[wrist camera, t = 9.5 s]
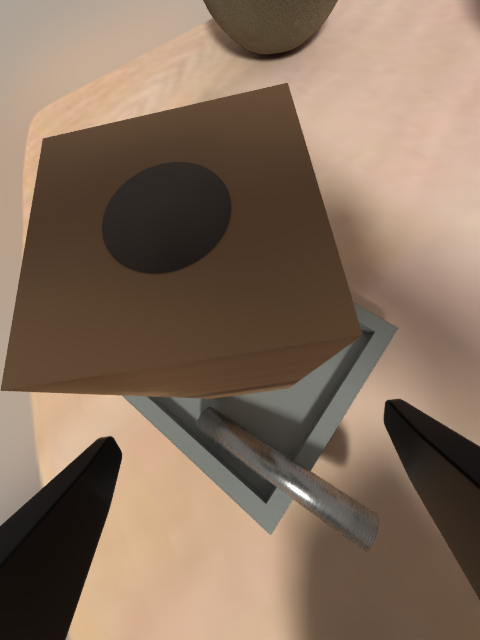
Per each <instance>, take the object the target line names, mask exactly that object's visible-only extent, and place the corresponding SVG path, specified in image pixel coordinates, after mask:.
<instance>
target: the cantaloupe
mask: <svg viewBox="0 0 480 640" xmlns="http://www.w3.org/2000/svg"><path fill="white" fill-rule="evenodd" d="M203 1H204V3H205V4H206V7H207V9H208V10H209V12H210V14H211V15H212V17H213V18H214V19H215V21H216V22H217V23H218V24H219V26H220V27H221V28H222V29H223V30H224V31H225V32H226V33H227V34H228V35H229V36H230V37H231V38H232V39H233V40H235V41H236V42H237V43H239V44H240V45H242V46H243V47H244V48H246V49H247V50H249V51H252V52H255V53H259V54H274V53H282V52H287V51H289V50H292V49H294V48H296V47H298V46H299V45H301V44H302V43H304V42H305V41H306V40H307V39H308V38H309V37H310V36H311V35H312V34H314V33H315V32H316V31H317V30H318V29H319V28H320V27H321V25H322V24H323V23H324V22H325V20H326V19H327V17H328V16H329V15H330V13H331V12H332V10H333V8H334V6H335V4H336V3H337V1H338V0H203Z"/></svg>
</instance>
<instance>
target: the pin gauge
mask: <svg viewBox="0 0 480 640" xmlns="http://www.w3.org/2000/svg"><path fill="white" fill-rule="evenodd" d="M195 429H196V430H197V431H198V432H200V433H201V434H203V435H204V436H205V437H207V438H208V439H210V440H211V441H212V442H214V443H215V444H217V445H218V446H219V447H221V448H222V449H224V450H225V451H226V452H228V453H229V454H231V455H232V456H233V457H235V458H236V459H237V460H239V461H240V462H242V463H243V464H244V465H246V466H247V467H249V468H250V469H251V470H253V471H254V472H256V473H257V474H258V475H260V476H261V477H263V478H264V479H265V480H267V481H268V482H270V483H271V484H272V485H274V486H275V487H277V488H278V489H279V490H281V491H282V492H284V493H285V494H286V495H288V496H289V497H291V498H292V499H293V500H295V501H296V502H298V503H299V504H300V505H302V506H303V507H304V508H306V509H307V510H309V511H310V512H311V513H313V514H314V515H316V516H317V517H318V518H320V519H321V520H323V521H324V522H325V523H327V524H328V525H330V526H331V527H332V528H334V529H335V530H337V531H338V532H339V533H341V534H342V535H344V536H345V537H346V538H348V539H349V540H351V541H352V542H353V543H355V544H356V545H358V546H359V547H360V548H362V549H363V550H365V551H368V550H369V549H370V548H371V546H372V544H373V542H374V539H375V536H376V533H377V528H378V515H377V514H376V513H374V512H373V511H371V510H370V509H368V508H366V507H365V506H363V505H362V504H360V503H359V502H357V501H356V500H354V499H353V498H351V497H350V496H348V495H346V494H345V493H343V492H342V491H340V490H339V489H337V488H336V487H334V486H333V485H331V484H330V483H328V482H326V481H325V480H323V479H322V478H320V477H319V476H317V475H316V474H314V473H313V472H311V471H309V470H308V469H306V468H305V467H303V466H302V465H300V464H299V463H297V462H296V461H294V460H293V459H291V458H289V457H288V456H286V455H285V454H283V453H282V452H280V451H279V450H277V449H276V448H274V447H273V446H271V445H269V444H268V443H266V442H265V441H263V440H262V439H260V438H259V437H257V436H256V435H254V434H252V433H251V432H249V431H248V430H246V429H245V428H243V427H242V426H240V425H239V424H237V423H236V422H234V421H232V420H231V419H229V418H228V417H226V416H225V415H223V414H222V413H220V412H219V411H217V410H216V409H214V408H212V407H211V406H209V407H207V408H206V409H205V410H204V411H203V412H202V414H201V415H200V417H199V418H198V420H197V423H196V426H195Z"/></svg>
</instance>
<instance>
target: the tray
mask: <svg viewBox="0 0 480 640" xmlns="http://www.w3.org/2000/svg"><path fill="white" fill-rule="evenodd" d="M353 304H354V308H355V311H356V314H357V318H358V321H359V324H360V328H361V331H362V334H363V335H362V336H361V337H360V338H358V339H357V340H355V341H354V342H353V343H351V344H350V345H348V346H347V347H346V348H344V349H343V350H342V351H340V352H339V353H337V354H336V355H335V356H333V357H332V358H330V359H329V360H328V361H326V362H325V363H324V364H322V365H321V366H319V367H318V368H317V369H315V370H314V371H312V372H311V373H310V374H308V375H307V376H306V377H304V378H303V379H301V380H300V381H299V382H297V383H296V384H294V385H293V386H292V387H290V388H288V389H281V390H274V391H267V392H260V393H253V394H246V395H239V396H232V397H224V398H217V399H203V398H177V397H151V396H125V395H122V396H123V397H124V398H125V399H126V400H127V401H128V402H129V403H130V404H131V405H133V406H134V407H135V408H136V409H137V410H138V411H139V412H140V413H141V414H142V415H143V416H144V417H145V418H146V419H147V420H149V421H150V422H151V423H152V424H153V425H154V426H155V427H156V428H157V429H158V430H159V431H160V432H161V433H162V434H163V435H164V436H166V437H167V438H168V439H169V440H170V441H171V442H172V443H173V444H174V445H175V446H176V447H177V448H178V449H179V450H180V451H182V452H183V453H184V454H185V455H186V456H187V457H188V458H189V459H190V460H191V461H192V462H193V463H194V464H195V465H196V466H197V467H199V468H200V469H201V470H202V471H203V472H204V473H205V474H206V475H207V476H208V477H209V478H210V479H211V480H212V481H213V482H215V483H216V484H217V485H218V486H219V487H220V488H221V489H222V490H223V491H224V492H225V493H226V494H227V495H228V496H229V497H231V498H232V499H233V500H234V501H235V502H236V503H237V504H238V505H239V506H240V507H241V508H242V509H243V510H244V511H245V512H246V513H248V514H249V515H250V516H251V517H252V518H253V519H254V520H255V521H256V522H257V523H258V524H259V525H260V526H261V527H262V528H264V529H265V530H266V531H267V532H268V533H269V534H270V535H271V534H272V533H273V531H274V529H275V528H276V526H277V524H278V523H279V521H280V520H281V518H282V516H283V515H284V513H285V511H286V510H287V508H288V507H289V505H290V503H291V502H292V500H293V499H292V498H291V497H289V496H288V495H286V494H285V493H284V492H282V491H281V490H279V489H278V488H277V487H275V486H274V485H272V484H271V483H270V482H268V481H267V480H265V479H264V478H263V477H261V476H260V475H258V474H257V473H256V472H254V471H253V470H251V469H250V468H249V467H247V466H246V465H244V464H243V463H242V462H240V461H239V460H237V459H236V458H235V457H233V456H232V455H231V454H229V453H228V452H226V451H225V450H224V449H222V448H221V447H219V446H218V445H217V444H215V443H214V442H212V441H211V440H210V439H208V438H207V437H205V436H204V435H203V434H201V433H200V432H198V431H197V430H196V429H195V426H196V423H197V420H198V418H199V417H200V415H201V414H202V412H203V411H204V410H205V409H206V408H207V407H209V406H211V407H212V408H214V409H216V410H217V411H219V412H220V413H222V414H223V415H225V416H226V417H228V418H229V419H231V420H232V421H234V422H236V423H237V424H239V425H240V426H242V427H243V428H245V429H246V430H248V431H249V432H251V433H252V434H254V435H256V436H257V437H259V438H260V439H262V440H263V441H265V442H266V443H268V444H269V445H271V446H273V447H274V448H276V449H277V450H279V451H280V452H282V453H283V454H285V455H286V456H288V457H289V458H291V459H293V460H294V461H296V462H297V463H299V464H300V465H302V466H303V467H305V468H306V469H308V470H309V471H311V469H312V467H313V466H314V464H315V463H316V461H317V459H318V458H319V456H320V454H321V453H322V451H323V450H324V448H325V446H326V445H327V443H328V441H329V440H330V438H331V437H332V435H333V433H334V432H335V430H336V428H337V427H338V425H339V424H340V422H341V420H342V419H343V417H344V415H345V414H346V412H347V411H348V409H349V407H350V406H351V404H352V402H353V401H354V399H355V398H356V396H357V394H358V393H359V391H360V389H361V388H362V386H363V385H364V383H365V381H366V380H367V378H368V376H369V375H370V373H371V372H372V370H373V368H374V367H375V365H376V363H377V362H378V360H379V359H380V357H381V355H382V354H383V352H384V350H385V349H386V347H387V346H388V344H389V342H390V341H391V339H392V337H393V336H394V334H395V333H396V331H397V329H398V328H397V327H396V326H394V325H392V324H390V323H389V322H387V321H385V320H383V319H382V318H380V317H378V316H376V315H375V314H373V313H371V312H369V311H368V310H366V309H364V308H362V307H361V306H359V305H357V304H355V303H354V302H353Z"/></svg>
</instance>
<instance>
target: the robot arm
mask: <svg viewBox="0 0 480 640" xmlns="http://www.w3.org/2000/svg"><path fill="white" fill-rule="evenodd" d="M384 424H385V427H386V429H387V431H388V434H389V436H390V438H391V440H392V442H393V444H394V447H395V449H396V451H397V453H398V455H399V458H400V460H401V462H402V464H403V466H404V468H405V471H406V473H407V475H408V477H409V479H410V480H411V482H412V484H413V486H414V488H415V489H416V491H417V493H418V494H419V496H420V498H421V500H422V501H423V503H424V505H425V506H426V508H427V510H428V512H429V513H430V515H431V517H432V518H433V520H434V522H435V524H436V525H437V527H438V529H439V531H440V532H441V534H442V536H443V537H444V539H445V541H446V543H447V544H448V546H449V548H450V549H451V551H452V553H453V555H454V556H455V558H456V560H457V562H458V563H459V565H460V567H461V568H462V570H463V572H464V574H465V575H466V577H467V579H468V580H469V582H470V584H471V586H472V587H473V589H474V591H475V592H476V594H477V596H478V598H479V599H480V446H478V445H476V444H475V443H473V442H471V441H470V440H468V439H466V438H465V437H463V436H461V435H460V434H458V433H456V432H455V431H453V430H452V429H450V428H448V427H447V426H445V425H443V424H442V423H440V422H438V421H437V420H435V419H433V418H432V417H430V416H428V415H427V414H425V413H423V412H422V411H420V410H418V409H417V408H415V407H413V406H412V405H410V404H408V403H407V402H405V401H403V400H401V399H393V400H387V401H386V402H385V409H384ZM121 460H122V452H121V450H120V448H119V446H118V445H117V443H116V441H115V439H114V438H113V437H111V436H108V437H101V438H99V439H97V440H96V441H95V442H94V443H93V444H92V445H90V446H89V447H88V448H87V449H86V450H85V451H84V452H83V453H81V454H80V455H79V456H78V457H77V458H76V459H75V460H74V461H73V462H71V463H70V464H69V465H68V466H67V467H66V468H65V469H64V470H62V471H61V472H60V473H59V474H58V475H57V476H56V477H55V478H54V479H52V480H51V481H50V482H49V483H48V484H47V485H46V486H45V487H43V488H42V489H41V490H40V491H39V492H38V493H37V494H36V495H35V496H34V497H32V498H31V499H30V500H29V501H28V502H27V503H26V504H24V505H23V506H22V507H21V508H20V509H19V510H18V511H17V512H16V513H14V515H12V516H11V517H10V518H9V519H8V520H7V521H5V522H4V523H3V524H2V525H1V526H0V640H65V639H66V637H67V634H68V631H69V628H70V625H71V622H72V619H73V616H74V613H75V610H76V607H77V604H78V601H79V598H80V595H81V592H82V589H83V586H84V583H85V580H86V578H87V575H88V572H89V569H90V566H91V563H92V560H93V557H94V554H95V551H96V548H97V545H98V542H99V539H100V536H101V533H102V530H103V527H104V524H105V521H106V518H107V515H108V512H109V509H110V505H111V501H112V497H113V493H114V489H115V485H116V481H117V477H118V473H119V469H120V465H121Z"/></svg>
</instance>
